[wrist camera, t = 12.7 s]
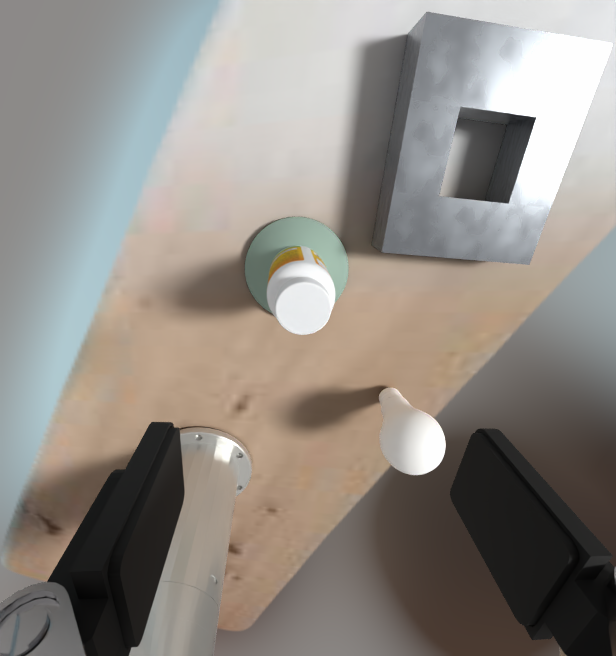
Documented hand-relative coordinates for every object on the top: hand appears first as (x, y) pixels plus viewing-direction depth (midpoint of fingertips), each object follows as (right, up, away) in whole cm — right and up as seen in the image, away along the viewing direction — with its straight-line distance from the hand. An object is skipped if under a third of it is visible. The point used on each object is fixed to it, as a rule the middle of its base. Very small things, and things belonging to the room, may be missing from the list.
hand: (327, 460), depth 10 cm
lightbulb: (+9, -3, +28) cm, 30 cm away
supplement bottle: (-2, +10, +21) cm, 23 cm away
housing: (+13, +19, +18) cm, 30 cm away
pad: (-2, +10, +21) cm, 24 cm away
